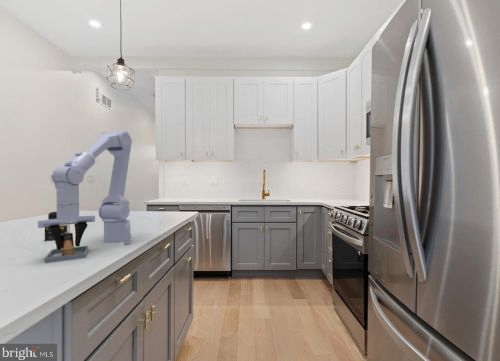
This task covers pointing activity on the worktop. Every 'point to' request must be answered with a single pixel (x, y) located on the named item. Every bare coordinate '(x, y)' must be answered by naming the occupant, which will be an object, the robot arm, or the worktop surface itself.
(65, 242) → the cell
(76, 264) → the worktop surface
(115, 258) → the worktop surface
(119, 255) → the worktop surface
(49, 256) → the tray
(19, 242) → the worktop surface
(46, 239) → the medicine bottle
